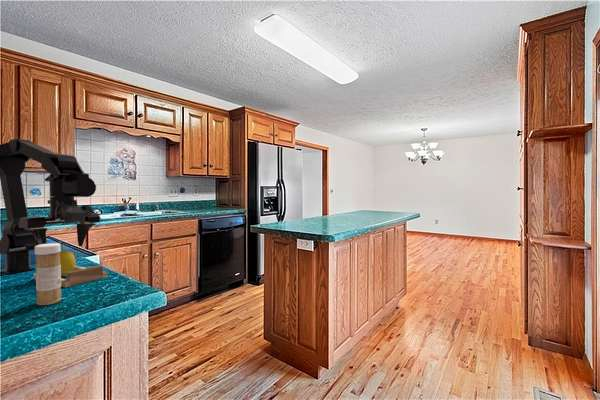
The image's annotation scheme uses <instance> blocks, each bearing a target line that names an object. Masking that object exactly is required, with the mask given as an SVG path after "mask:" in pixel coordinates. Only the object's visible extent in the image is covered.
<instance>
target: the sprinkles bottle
mask: <svg viewBox="0 0 600 400" xmlns="http://www.w3.org/2000/svg"><path fill="white" fill-rule="evenodd" d="M61 251H62V250H61V244H60V243H59V242H58V243H56V242H54V243H53V242H51V243H47V244H41V245H39V244H38V245H37V246H35V250H34V254H35V271H36V272H35V274H36V280H35V283H36V285H35V288H36V305H38V306H47V305H48V306H49V305H53V304H57V303H59V302H61V301H62V289H61V288H62V286H61V278H62V275H61V265H60V252H61Z"/></svg>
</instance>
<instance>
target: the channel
mask: <svg viewBox="0 0 600 400" xmlns="http://www.w3.org/2000/svg"><path fill="white" fill-rule="evenodd" d="M103 267H104V266H103V265H94V266H90V267H83V266H79V265H75V268H74V270H73V271H70V272H66V273H67V275H66V279H65V278H62V277H61V288H62V287H63V288H68V287H69V288H70V287H72V286H77V285H81V284H85V283H88V282H89V283H90V282H93V281H96V280H101V279H104V278H108V271H104V269H103ZM33 280H35V281H36V273H33Z"/></svg>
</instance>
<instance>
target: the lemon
mask: <svg viewBox="0 0 600 400" xmlns="http://www.w3.org/2000/svg"><path fill="white" fill-rule="evenodd" d="M60 265H61V277H65V278H66V277H67V273H66V272H70V271H73V270H74V268H75V266H77V263H76V257H75V255H74V254H73V252H70V251H67V250H65V249H62V250H61V251H60Z"/></svg>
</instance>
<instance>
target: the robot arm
mask: <svg viewBox="0 0 600 400" xmlns="http://www.w3.org/2000/svg"><path fill="white" fill-rule="evenodd" d="M30 160H34V161H35V162H38V163H40V164H41V165H40V167H41V168H42V169H43V170H44V171H46V172H47V173H48V174H49V175H47V177H45V179H44V181H45V182H49V183H48V184H49V185H48V186H49V199H48V200H47V204H49V213H48V214H47V217H44V216H36V215H35V216H29V215H28V209H27V204H26V199H25V193H24V186H23V182H22V174H23V173H24V171H25V169H26V166H27V165H26V163H27V162H28V161H30ZM0 185H1V192H2V197H3V198H2V199H3V202H4V207H5V214H6V219H7V222H6V223H5V225H4V227H3V229H2V231H1V233H2V237H1V238H0V255H5V268H4V269H1V270H0V271H1V272H2V273H6V274H10V275H11V274H16V273H22V272H26V271H31V270H32V271H33V270H36V266H32V265H31V251H35V246H37V245H41V244H48V242H47V231H48V227H45V226H46V225H57V224H66V223H68V224H73V223H76V224H75V225H76V234H77V235H76V237H77V245H78V247H83V244H84V242H85V239H86V237H87V234H88V232H89V230H90V229H91V228H92V227H94V226H96V225H97V223H101V216H100V214H99V213H94V212H93V208H92V206H91V205H90V204H86V205H85V204H84V205H82V206H79V205H78V200H77V199H75V198H76V197H77V198H88V197H92V196H93V195H94V194H95V193H96V190H97V185H96V183H95V181H94V180H93V179H92V178H91V177H90V173H85V172H84V170H83V168H82V167H81V165H80V164H79V161H78V160H77V158H76V156H74V155H70V154H67V153H66V154H64V153H58V152H54V151H52V150H50V149H47V148H46V147H43V146H41V145H39V144H37V143H34V142H33V141H31V140H28V139H20V138H12V139H10V140H9V141H8V142H5V143H2V144H0Z"/></svg>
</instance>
